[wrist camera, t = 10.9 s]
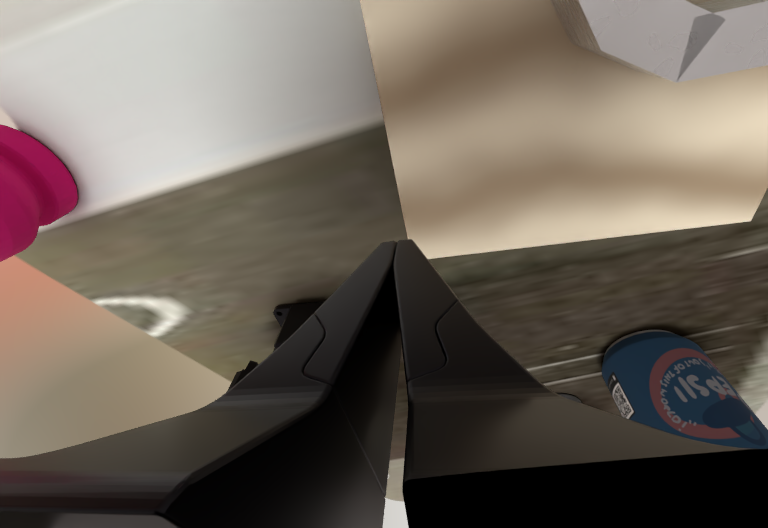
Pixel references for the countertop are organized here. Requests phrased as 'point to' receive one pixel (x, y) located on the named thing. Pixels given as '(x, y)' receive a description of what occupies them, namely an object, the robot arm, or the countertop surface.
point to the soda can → (678, 391)
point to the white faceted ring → (671, 34)
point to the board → (552, 132)
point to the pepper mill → (29, 190)
